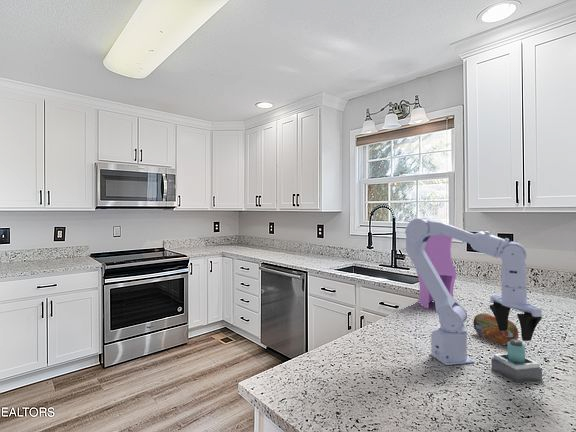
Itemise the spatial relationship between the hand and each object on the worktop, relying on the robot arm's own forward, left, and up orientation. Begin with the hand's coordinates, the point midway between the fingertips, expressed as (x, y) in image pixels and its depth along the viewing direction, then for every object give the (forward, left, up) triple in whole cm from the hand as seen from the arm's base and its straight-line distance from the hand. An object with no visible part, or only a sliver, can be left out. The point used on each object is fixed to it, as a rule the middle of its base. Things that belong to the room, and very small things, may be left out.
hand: (514, 335), depth 90 cm
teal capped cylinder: (0, -1, -7) cm, 7 cm away
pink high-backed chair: (+21, +65, -11) cm, 69 cm away
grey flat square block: (0, -1, -10) cm, 10 cm away
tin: (+14, +21, -11) cm, 27 cm away
